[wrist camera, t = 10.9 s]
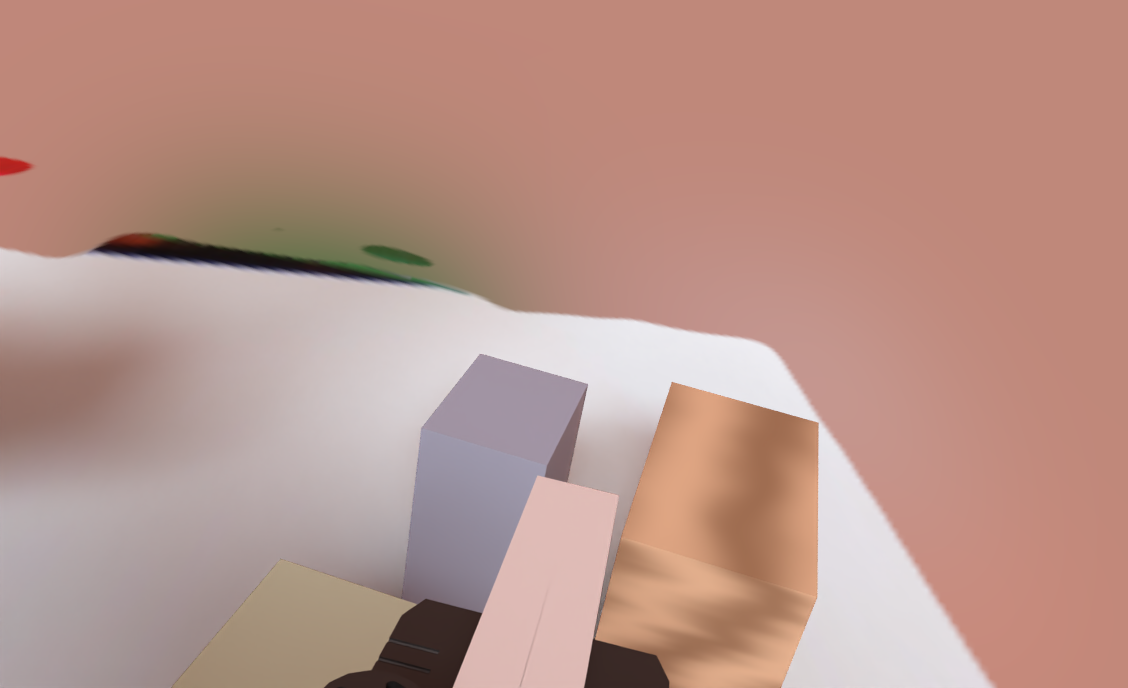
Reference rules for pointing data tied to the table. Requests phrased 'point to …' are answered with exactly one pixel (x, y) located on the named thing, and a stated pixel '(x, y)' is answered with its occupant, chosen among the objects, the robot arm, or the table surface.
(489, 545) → the lavender block
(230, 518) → the table surface
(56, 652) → the table surface
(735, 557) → the oak block
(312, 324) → the table surface
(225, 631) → the beige block
